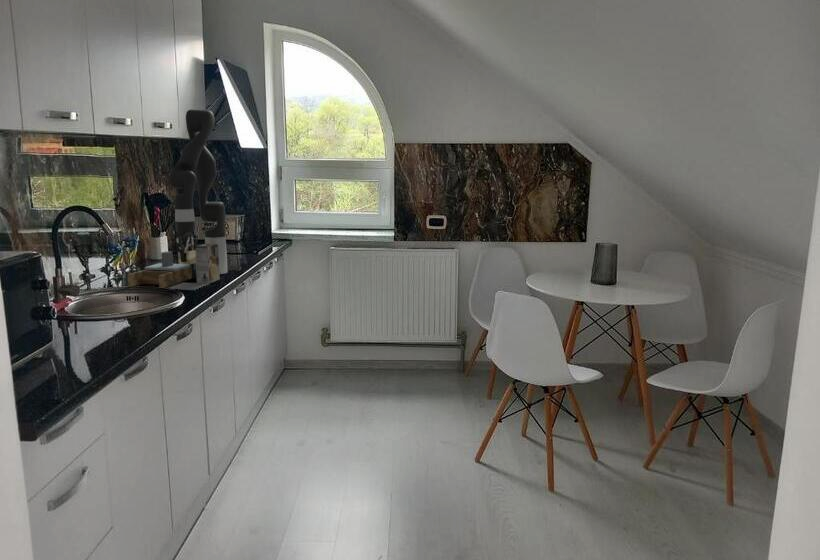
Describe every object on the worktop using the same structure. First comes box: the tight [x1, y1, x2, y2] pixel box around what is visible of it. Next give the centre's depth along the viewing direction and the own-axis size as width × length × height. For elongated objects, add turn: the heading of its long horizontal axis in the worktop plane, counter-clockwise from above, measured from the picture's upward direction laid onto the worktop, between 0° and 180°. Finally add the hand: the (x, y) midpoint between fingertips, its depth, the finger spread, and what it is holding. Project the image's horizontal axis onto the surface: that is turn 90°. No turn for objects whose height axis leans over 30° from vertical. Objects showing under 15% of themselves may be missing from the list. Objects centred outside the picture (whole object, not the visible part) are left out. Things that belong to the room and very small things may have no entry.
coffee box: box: [194, 243, 221, 284], centre depth 275 cm, size 9×6×16 cm
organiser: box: [127, 265, 193, 289], centre depth 272 cm, size 24×15×6 cm, turn 170°
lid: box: [144, 251, 191, 271], centre depth 276 cm, size 11×15×7 cm
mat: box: [168, 282, 210, 291], centre depth 264 cm, size 12×12×1 cm
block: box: [177, 250, 196, 265], centre depth 262 cm, size 5×5×5 cm
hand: (187, 260), depth 262 cm, fingers closed on block, 5 cm apart
